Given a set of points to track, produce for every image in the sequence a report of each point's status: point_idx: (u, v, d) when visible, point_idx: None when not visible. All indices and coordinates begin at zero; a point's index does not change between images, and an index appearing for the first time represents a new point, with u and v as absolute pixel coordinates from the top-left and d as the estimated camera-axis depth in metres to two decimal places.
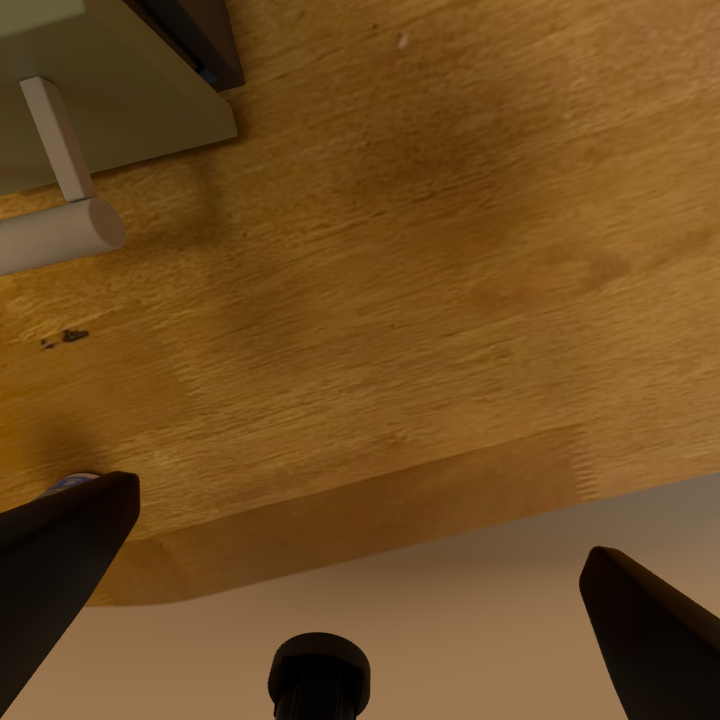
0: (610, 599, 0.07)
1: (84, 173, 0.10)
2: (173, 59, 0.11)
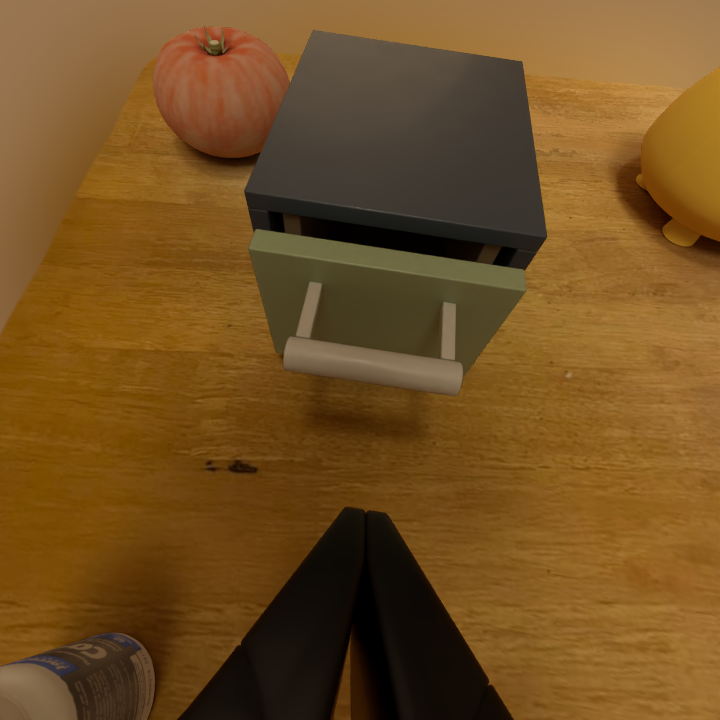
0: None
1: None
2: None
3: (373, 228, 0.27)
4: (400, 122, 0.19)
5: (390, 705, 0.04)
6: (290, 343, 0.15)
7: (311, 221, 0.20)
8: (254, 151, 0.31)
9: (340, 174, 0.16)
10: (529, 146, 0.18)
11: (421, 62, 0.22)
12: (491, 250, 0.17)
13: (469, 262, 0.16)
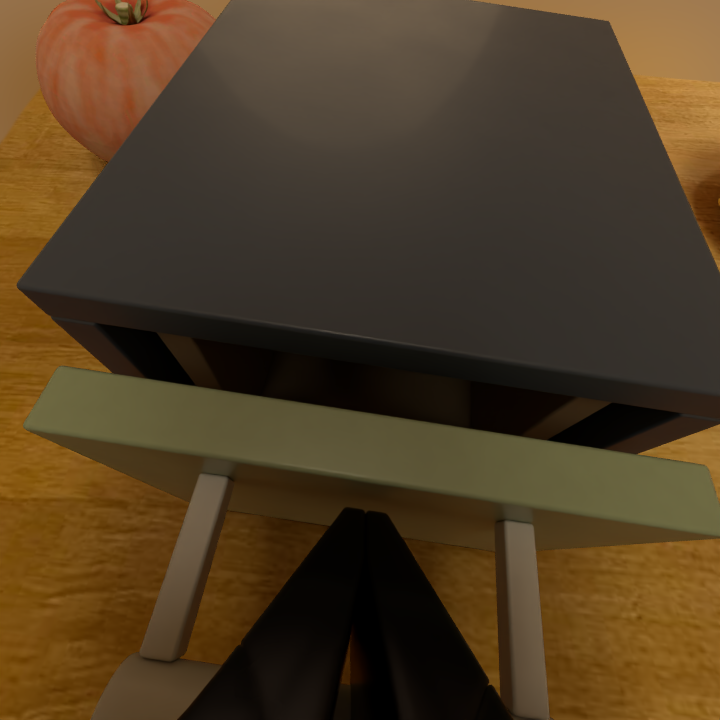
0: None
1: None
2: None
3: None
4: (404, 120, 0.09)
5: (390, 705, 0.04)
6: (102, 718, 0.05)
7: None
8: None
9: (267, 236, 0.07)
10: (665, 167, 0.09)
11: (440, 18, 0.12)
12: None
13: (575, 449, 0.07)
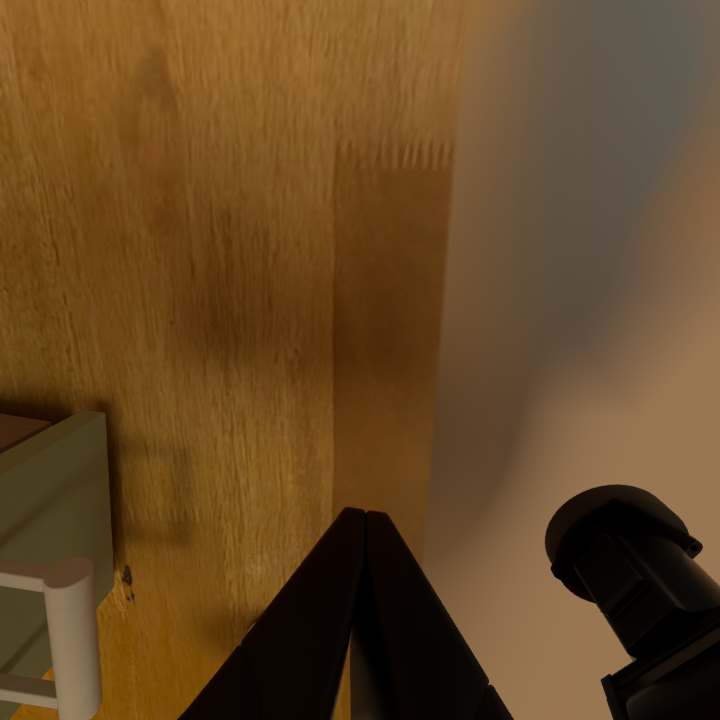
0: None
1: (31, 569, 0.13)
2: None
3: None
4: None
5: (390, 705, 0.04)
6: None
7: None
8: None
9: None
10: None
11: None
12: None
13: None
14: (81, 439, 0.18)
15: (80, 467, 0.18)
